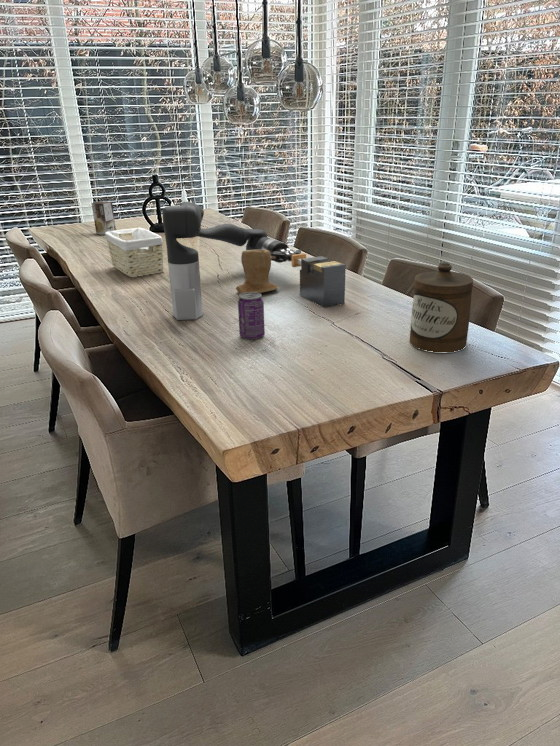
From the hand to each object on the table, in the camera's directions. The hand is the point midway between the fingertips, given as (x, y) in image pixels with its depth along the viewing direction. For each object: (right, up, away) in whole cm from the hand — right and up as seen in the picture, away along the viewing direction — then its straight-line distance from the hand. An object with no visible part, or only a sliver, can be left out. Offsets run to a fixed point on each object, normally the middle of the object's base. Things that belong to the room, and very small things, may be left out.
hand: (297, 259), depth 201 cm
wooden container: (+36, -32, -46) cm, 67 cm away
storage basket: (-64, +2, +32) cm, 71 cm away
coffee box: (-98, +34, +102) cm, 146 cm away
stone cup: (-15, -12, +1) cm, 19 cm away
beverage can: (-14, -29, -39) cm, 51 cm away
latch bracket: (+8, -15, -9) cm, 19 cm away
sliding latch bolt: (+4, -5, -6) cm, 9 cm away
